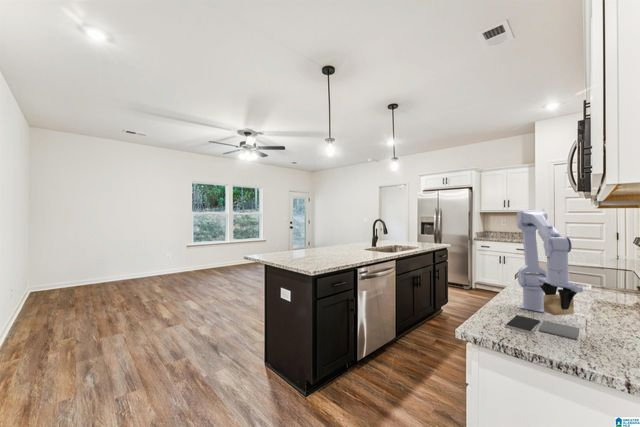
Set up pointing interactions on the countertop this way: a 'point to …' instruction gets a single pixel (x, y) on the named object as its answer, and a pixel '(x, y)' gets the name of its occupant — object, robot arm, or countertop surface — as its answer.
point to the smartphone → (523, 324)
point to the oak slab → (556, 305)
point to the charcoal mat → (559, 329)
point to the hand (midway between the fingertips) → (558, 306)
